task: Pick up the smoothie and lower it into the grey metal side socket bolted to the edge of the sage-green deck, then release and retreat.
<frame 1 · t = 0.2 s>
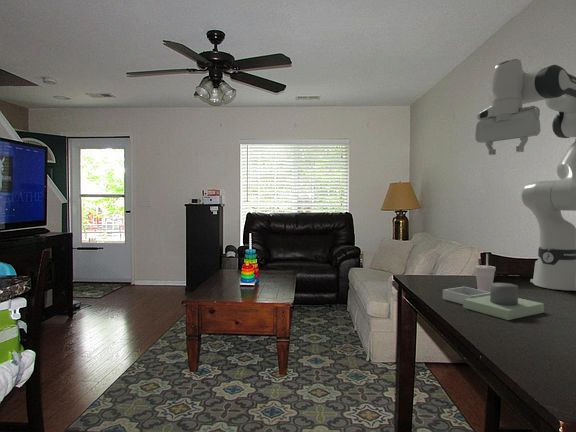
hand: (505, 153, 132), 47 cm above the table, fingers open, 8 cm apart
deck: (502, 309, 117), on the table
smoothie: (484, 296, 134), on the table
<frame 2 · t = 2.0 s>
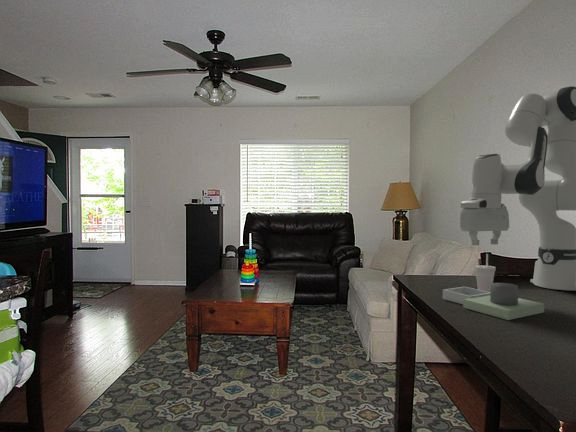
hand: (484, 244, 133), 17 cm above the table, fingers open, 8 cm apart
nothing on the table moved.
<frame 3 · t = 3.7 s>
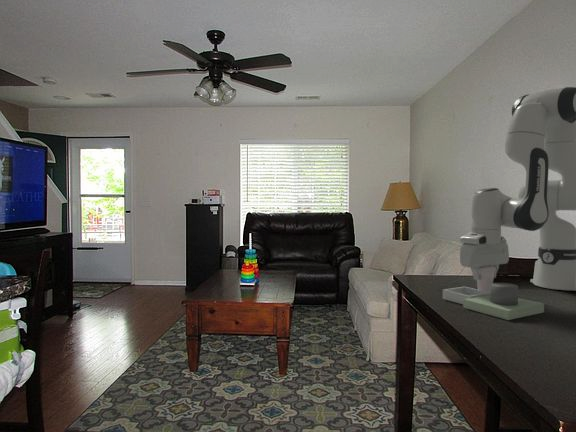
hand: (484, 278, 134), 6 cm above the table, fingers closed on smoothie, 6 cm apart
smoothie: (484, 296, 134), on the table, touching gripper
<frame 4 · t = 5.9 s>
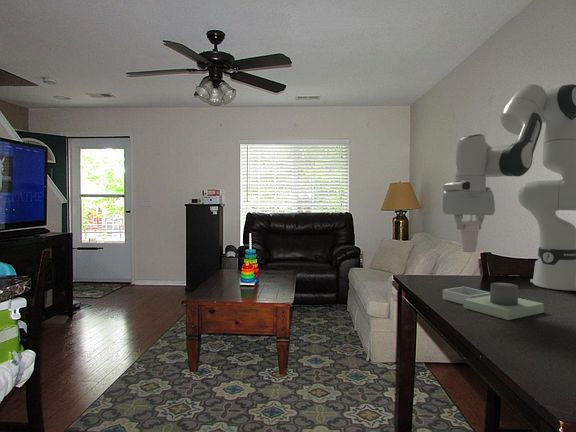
hand: (469, 229, 127), 22 cm above the table, fingers closed on smoothie, 6 cm apart
smoothie: (469, 252, 128), point 15 cm above the table, touching gripper
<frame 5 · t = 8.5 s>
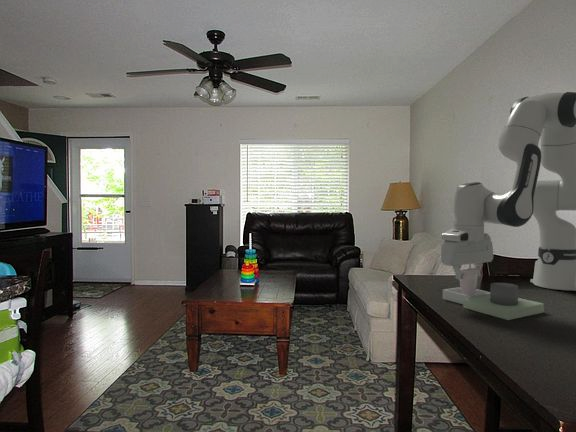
hand: (467, 277, 127), 7 cm above the table, fingers closed on smoothie, 6 cm apart
smoothie: (468, 299, 127), resting on deck, touching gripper
when the fingers open (7 cm above the table, at t = 9.8 s): smoothie stays where it is, resting on deck.
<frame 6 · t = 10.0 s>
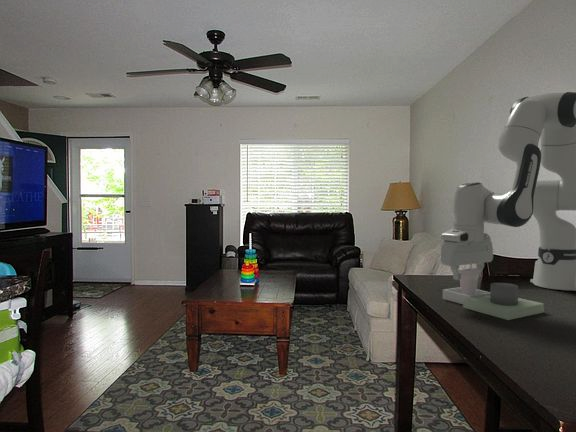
hand: (467, 278, 127), 7 cm above the table, fingers open, 8 cm apart
smoothie: (468, 300, 127), resting on deck
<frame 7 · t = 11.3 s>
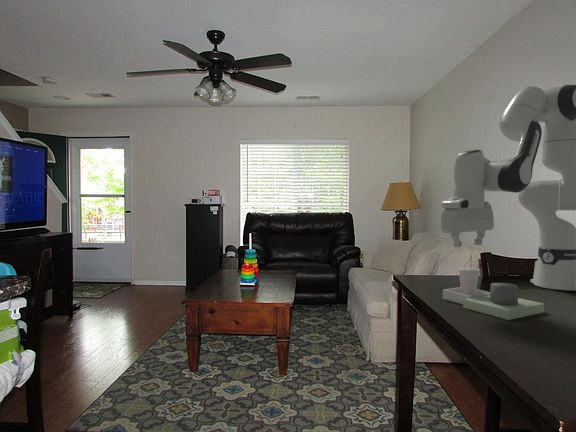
hand: (468, 245, 127), 17 cm above the table, fingers open, 8 cm apart
nothing on the table moved.
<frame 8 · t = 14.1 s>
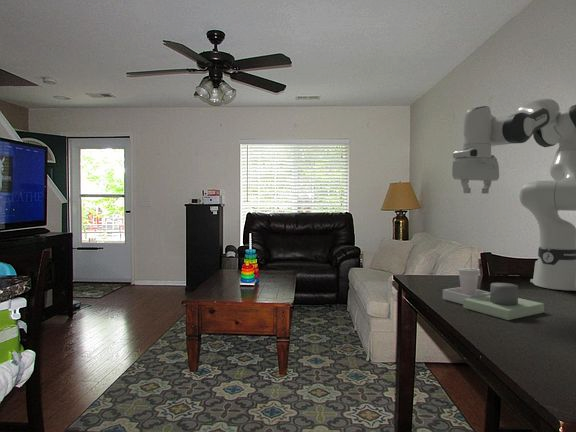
hand: (476, 193, 141), 34 cm above the table, fingers open, 8 cm apart
nothing on the table moved.
at the end: smoothie 0.4 cm from the target spot on the deck, point 0.2 cm above the deck's base; smoothie tilted 0°; the gripper is holding nothing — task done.
